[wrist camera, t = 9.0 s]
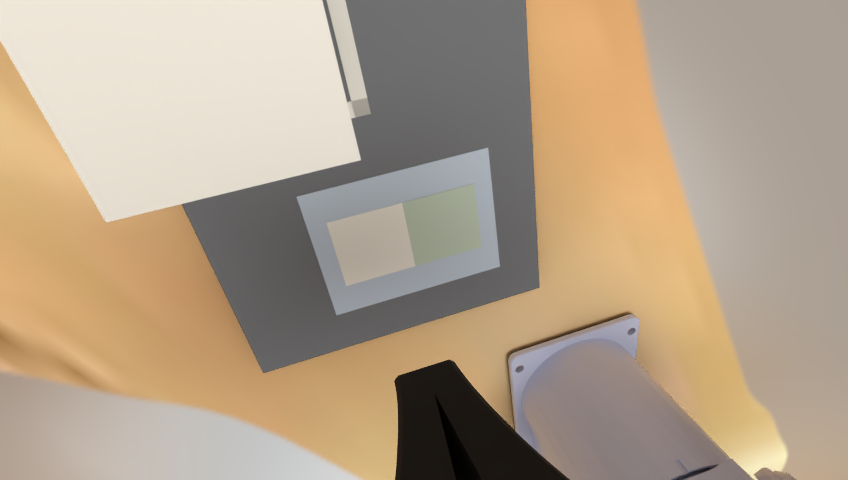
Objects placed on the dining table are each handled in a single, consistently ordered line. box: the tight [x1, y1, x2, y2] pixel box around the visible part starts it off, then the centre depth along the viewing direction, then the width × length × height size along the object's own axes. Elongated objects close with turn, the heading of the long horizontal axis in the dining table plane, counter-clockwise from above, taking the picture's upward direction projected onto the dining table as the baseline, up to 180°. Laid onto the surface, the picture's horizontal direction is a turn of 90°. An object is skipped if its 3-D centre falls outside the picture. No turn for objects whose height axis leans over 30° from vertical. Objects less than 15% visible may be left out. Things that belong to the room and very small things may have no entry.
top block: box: [0, 0, 361, 222], centre depth 9 cm, size 4×4×4 cm
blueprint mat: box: [182, 0, 539, 373], centre depth 17 cm, size 20×14×1 cm
